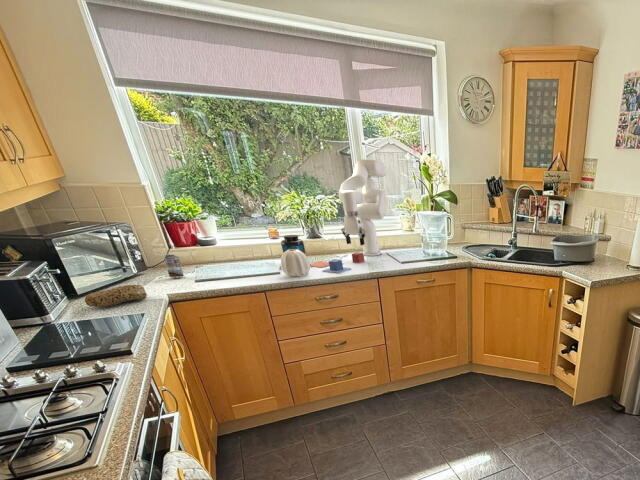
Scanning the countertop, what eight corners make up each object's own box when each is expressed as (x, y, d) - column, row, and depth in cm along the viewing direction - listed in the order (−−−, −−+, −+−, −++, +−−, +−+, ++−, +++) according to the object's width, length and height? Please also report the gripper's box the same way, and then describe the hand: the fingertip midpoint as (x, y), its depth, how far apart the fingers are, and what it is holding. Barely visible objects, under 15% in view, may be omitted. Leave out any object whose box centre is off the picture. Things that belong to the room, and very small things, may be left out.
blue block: (336, 268, 239) (334, 259, 237) (343, 268, 238) (341, 260, 235) (330, 269, 235) (328, 261, 232) (337, 270, 234) (335, 261, 231)
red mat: (319, 262, 253) (319, 261, 253) (334, 263, 250) (334, 263, 250) (306, 266, 244) (306, 265, 243) (322, 267, 241) (322, 266, 241)
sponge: (145, 298, 189) (83, 297, 175) (143, 281, 186) (79, 280, 171) (150, 310, 182) (86, 310, 168) (148, 293, 179) (83, 292, 164)
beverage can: (169, 279, 211) (160, 256, 206) (171, 276, 217) (163, 253, 211) (184, 278, 214) (175, 255, 208) (186, 275, 220) (177, 252, 214)
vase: (284, 279, 217) (277, 253, 211) (284, 273, 228) (278, 248, 222) (312, 277, 223) (306, 251, 216) (311, 271, 234) (306, 246, 227)
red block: (357, 260, 259) (356, 252, 257) (364, 261, 258) (363, 253, 255) (352, 262, 255) (351, 253, 252) (359, 262, 254) (358, 254, 251)
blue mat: (335, 267, 243) (335, 266, 242) (351, 269, 240) (351, 268, 240) (322, 271, 233) (322, 270, 233) (338, 273, 231) (338, 272, 230)
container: (305, 266, 243) (299, 237, 235) (283, 266, 241) (276, 237, 233) (309, 261, 253) (303, 234, 246) (288, 262, 251) (282, 234, 243)
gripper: (367, 214, 244) (371, 244, 252) (343, 212, 248) (347, 242, 256) (359, 215, 237) (364, 246, 245) (334, 214, 242) (339, 244, 250)
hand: (355, 244), depth 251 cm, fingers open, 9 cm apart
